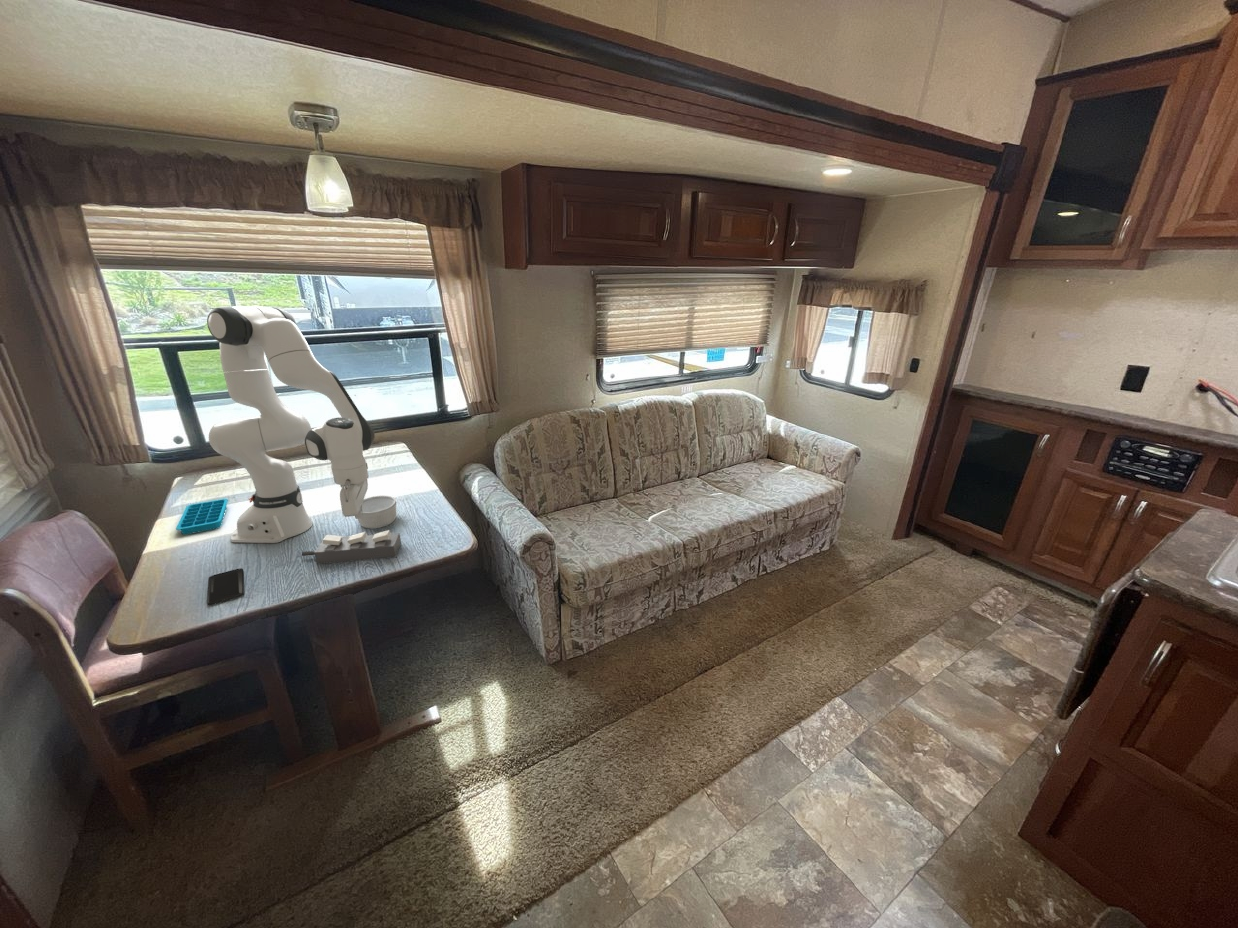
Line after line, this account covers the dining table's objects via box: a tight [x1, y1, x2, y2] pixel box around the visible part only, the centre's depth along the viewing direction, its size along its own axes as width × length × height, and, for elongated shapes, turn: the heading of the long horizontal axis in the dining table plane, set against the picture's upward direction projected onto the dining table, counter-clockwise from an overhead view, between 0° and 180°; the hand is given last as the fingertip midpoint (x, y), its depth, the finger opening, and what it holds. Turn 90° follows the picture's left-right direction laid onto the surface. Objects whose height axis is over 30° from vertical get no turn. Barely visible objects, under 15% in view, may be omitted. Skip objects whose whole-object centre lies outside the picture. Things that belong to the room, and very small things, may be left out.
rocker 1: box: [322, 534, 343, 545], centre depth 146 cm, size 4×3×1 cm
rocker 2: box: [348, 531, 368, 545], centre depth 147 cm, size 4×3×1 cm
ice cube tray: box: [175, 498, 229, 536], centre depth 167 cm, size 12×20×3 cm, turn 31°
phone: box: [206, 567, 245, 607], centre depth 133 cm, size 8×1×15 cm
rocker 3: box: [373, 529, 392, 543], centre depth 149 cm, size 4×3×1 cm
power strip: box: [301, 532, 402, 565], centre depth 148 cm, size 27×8×5 cm, turn 101°
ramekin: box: [357, 495, 397, 530], centre depth 167 cm, size 13×13×7 cm
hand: (359, 516), depth 145 cm, fingers closed
